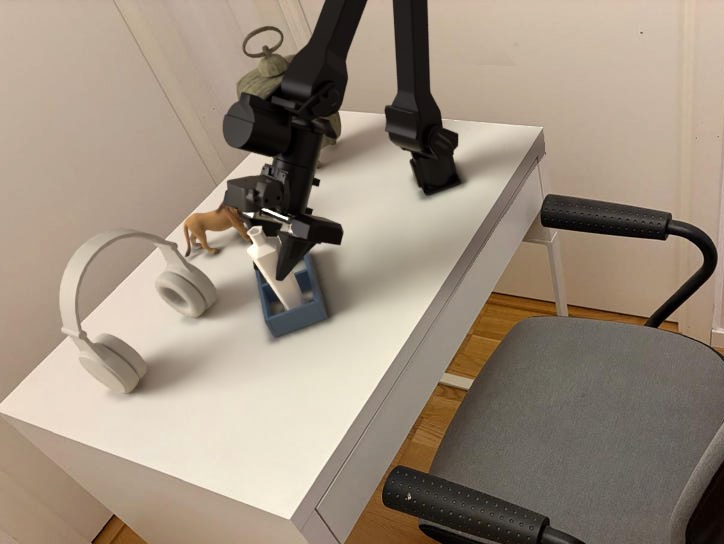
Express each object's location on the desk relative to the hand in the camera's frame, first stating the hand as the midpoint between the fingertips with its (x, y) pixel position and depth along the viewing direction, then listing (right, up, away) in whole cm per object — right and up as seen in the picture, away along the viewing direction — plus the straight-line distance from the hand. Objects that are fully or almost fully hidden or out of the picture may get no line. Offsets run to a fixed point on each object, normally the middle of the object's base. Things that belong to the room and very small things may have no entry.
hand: (267, 275), depth 103 cm
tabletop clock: (-1, +24, +32) cm, 40 cm away
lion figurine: (-12, +8, +22) cm, 26 cm away
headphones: (-17, -10, +7) cm, 21 cm away
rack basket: (+1, -2, +9) cm, 10 cm away
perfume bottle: (+2, -4, +7) cm, 9 cm away
